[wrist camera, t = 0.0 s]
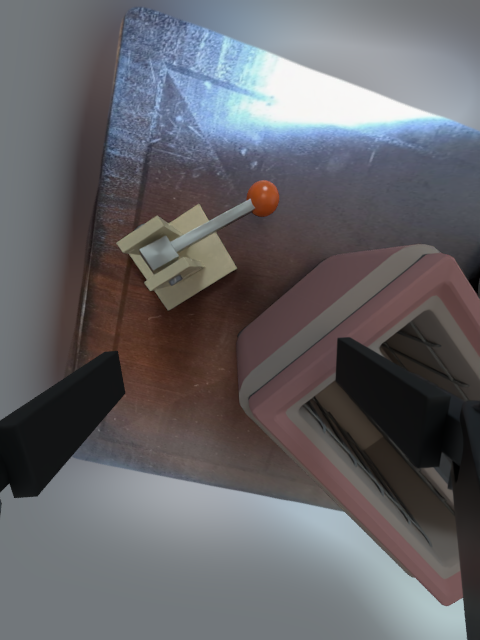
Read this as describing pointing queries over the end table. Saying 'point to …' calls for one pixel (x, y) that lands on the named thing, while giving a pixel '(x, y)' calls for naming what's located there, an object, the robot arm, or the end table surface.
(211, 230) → the lever
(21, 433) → the robot arm
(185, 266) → the bracket
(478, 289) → the cereal bowl
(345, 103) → the end table surface
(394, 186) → the end table surface
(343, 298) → the toaster
